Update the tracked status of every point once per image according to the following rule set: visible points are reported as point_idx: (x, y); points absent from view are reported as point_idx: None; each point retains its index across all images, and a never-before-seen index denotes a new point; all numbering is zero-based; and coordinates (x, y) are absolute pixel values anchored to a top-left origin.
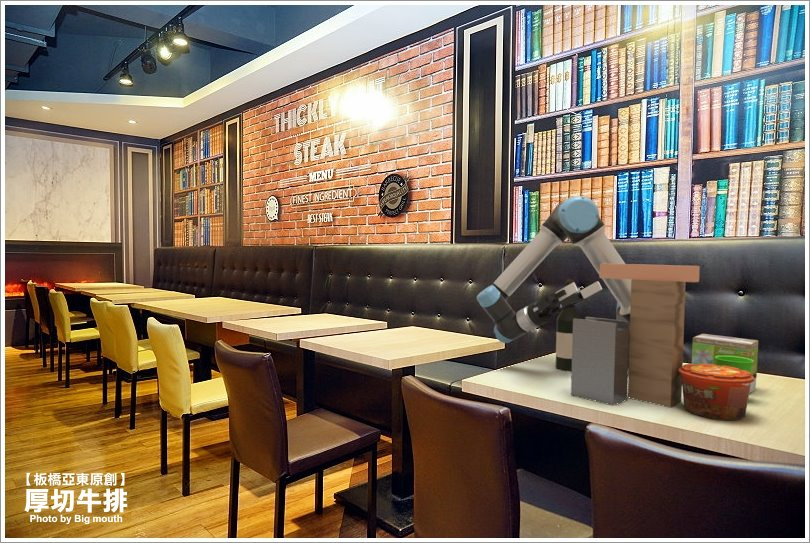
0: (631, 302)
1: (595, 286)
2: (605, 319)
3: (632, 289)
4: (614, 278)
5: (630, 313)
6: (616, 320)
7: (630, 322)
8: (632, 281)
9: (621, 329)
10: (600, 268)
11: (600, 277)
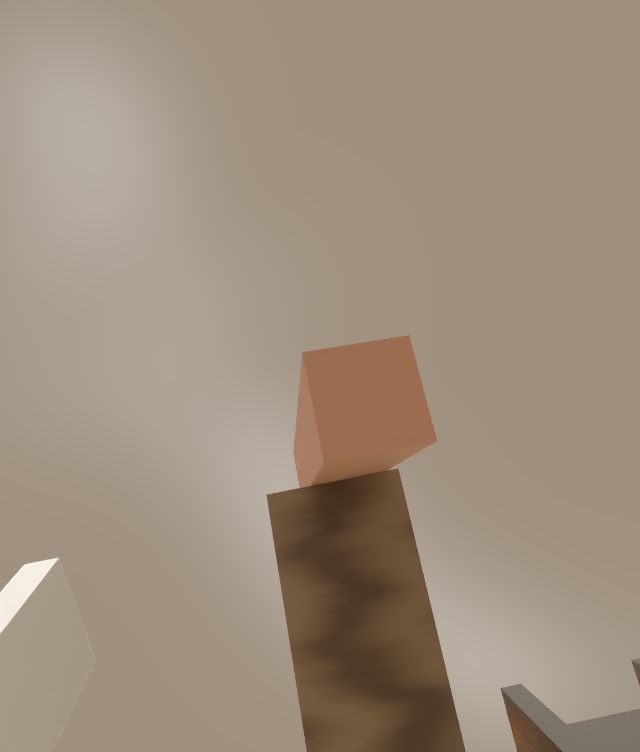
0: (427, 593)
1: (49, 645)
2: (584, 742)
3: (409, 520)
4: (407, 457)
5: (443, 662)
6: (547, 708)
7: (457, 720)
8: (400, 478)
9: (577, 730)
10: (416, 371)
11: (434, 439)
